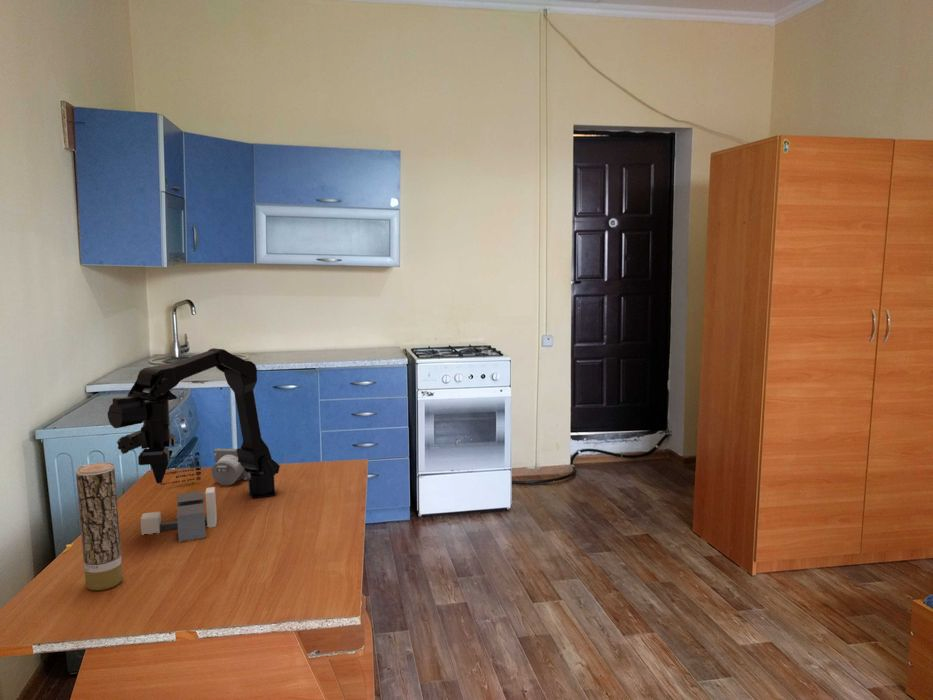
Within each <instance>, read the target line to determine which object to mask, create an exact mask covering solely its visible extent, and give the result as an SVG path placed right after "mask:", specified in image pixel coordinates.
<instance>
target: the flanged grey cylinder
mask: <svg viewBox="0 0 933 700" xmlns="http://www.w3.org/2000/svg"><path fill="white" fill-rule="evenodd" d="M237 449H238V448H219V447H218V448H215V449H214V450H213V456H214V461H215V464H214V465H213V466H212V468H211V476H212V478H213V480H214V481H215V482H217V483H218V484H219V485H222V486H232V485H233V484H235V483H236V481H238V480H237V479H244V480H243V481H248V478H250V473H247V472H245V469H244V467H243V466H241V464H240V462H238V454H237ZM194 454H195V455H193V453H192V454H186V455H184V456H183V455H178V456H171V458H170V460H173V459H177V458H178V459H180V458H183V457H187V458H188V457H194V456H196V459H195V461H196V462H195V463H196V464H195V465H196V468H191V469H184V470H175V471H171V472H165V475H164V476H166V475H174V474H179V473H180V472H181V473H185V472H191V471H193V472H194V469H195V471H196V472H195V474H194V473H188V474H187V476H189V477H190V476H195V475H196V476H197V477H196V479H195V478H188V479H187V480H185V479H183V480H181V481H180V480H176V481H170V482H164V483H163V482H162V483H159V484H160V486H162V485H169V484H175V483H181V482H183V483H184V482H185V483H186V482H189V481H190V483H187V486H189V485H190V486H191V484H193V485H195V481H194V480H197V481H201V479H202V478H201V476H200V475H201V474H202V471H201V470H202V469H201V467H200V461H198V460H199V458H200V457H199V456H200V452H195V453H194ZM193 461H194V459H193V458H191V459H189V458H188V459H187V462H193ZM185 462H186V459H183V460H178V461H177V460H174V464H176V463H178V464H179V463H185ZM186 464H187V463H186ZM193 466H194V464H192V463H189V464H187V467H193ZM185 467H186V465H185V464H182V465H180V466H179V467H178V466H177V465H175V466H173V465H172V466H170V467H169V469H170V470H172V469H179V468H185ZM181 477H182V478H184V477H186V474H182V475H178V476H177V475H176V476H175V479H178V478H181ZM191 481H192V482H191Z"/></svg>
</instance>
